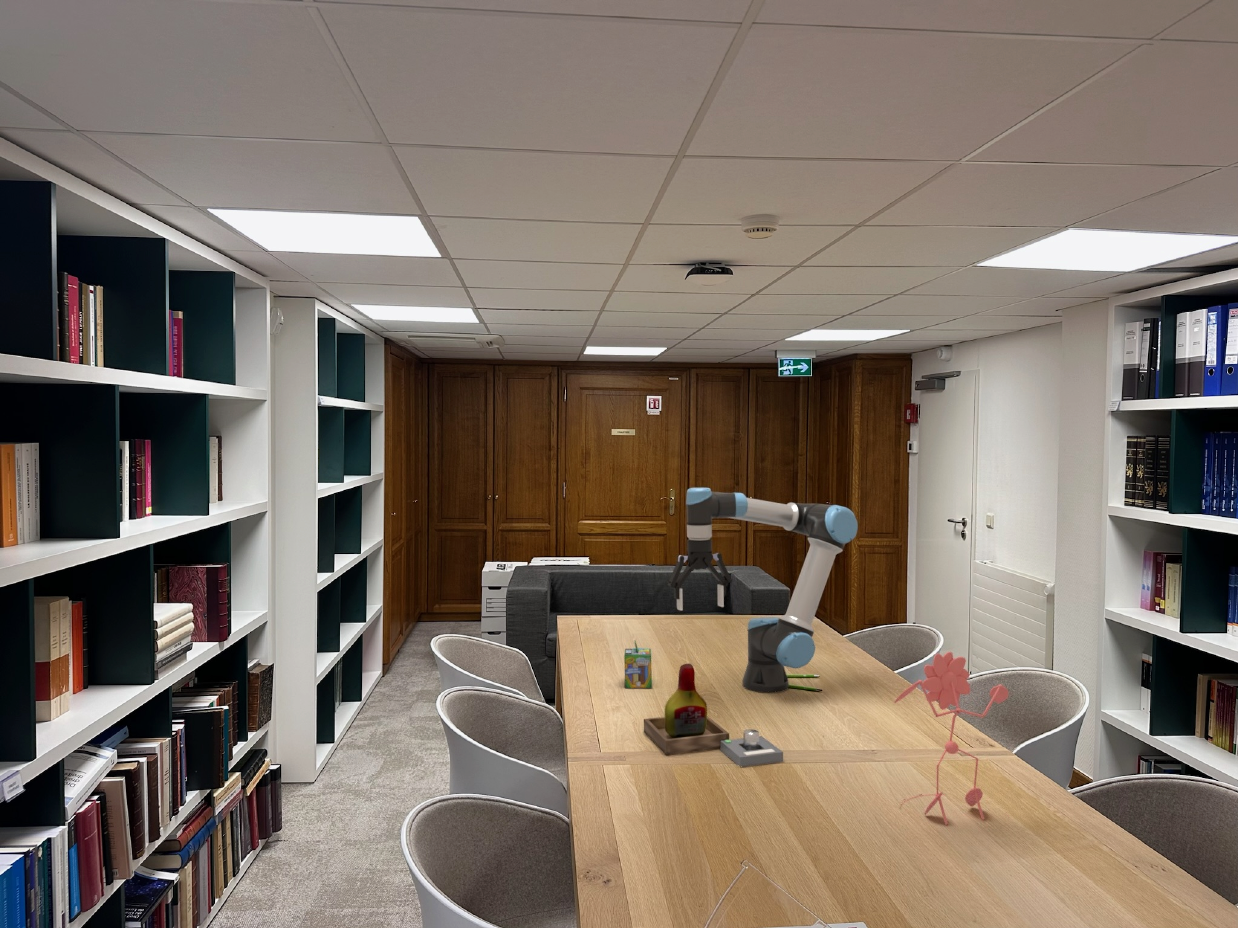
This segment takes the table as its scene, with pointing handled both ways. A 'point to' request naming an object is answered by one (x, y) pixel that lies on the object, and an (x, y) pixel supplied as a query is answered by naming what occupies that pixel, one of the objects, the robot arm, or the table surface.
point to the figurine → (946, 687)
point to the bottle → (685, 707)
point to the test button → (750, 739)
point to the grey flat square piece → (751, 752)
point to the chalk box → (638, 668)
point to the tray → (686, 744)
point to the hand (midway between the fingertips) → (700, 607)
